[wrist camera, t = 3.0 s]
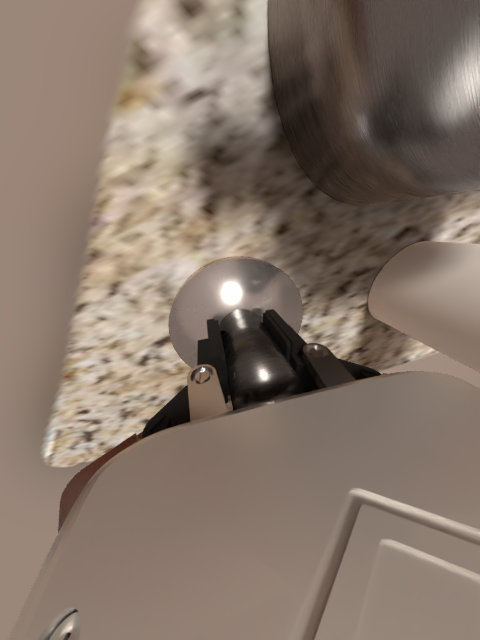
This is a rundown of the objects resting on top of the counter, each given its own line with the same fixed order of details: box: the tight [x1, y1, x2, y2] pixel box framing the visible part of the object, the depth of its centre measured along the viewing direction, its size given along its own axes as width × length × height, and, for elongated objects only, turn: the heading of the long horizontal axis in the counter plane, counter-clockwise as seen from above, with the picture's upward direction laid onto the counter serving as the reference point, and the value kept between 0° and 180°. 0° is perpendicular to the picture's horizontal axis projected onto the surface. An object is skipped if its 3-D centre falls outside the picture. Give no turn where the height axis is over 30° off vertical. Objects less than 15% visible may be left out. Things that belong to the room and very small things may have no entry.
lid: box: [169, 256, 305, 410], centre depth 10 cm, size 10×10×7 cm
